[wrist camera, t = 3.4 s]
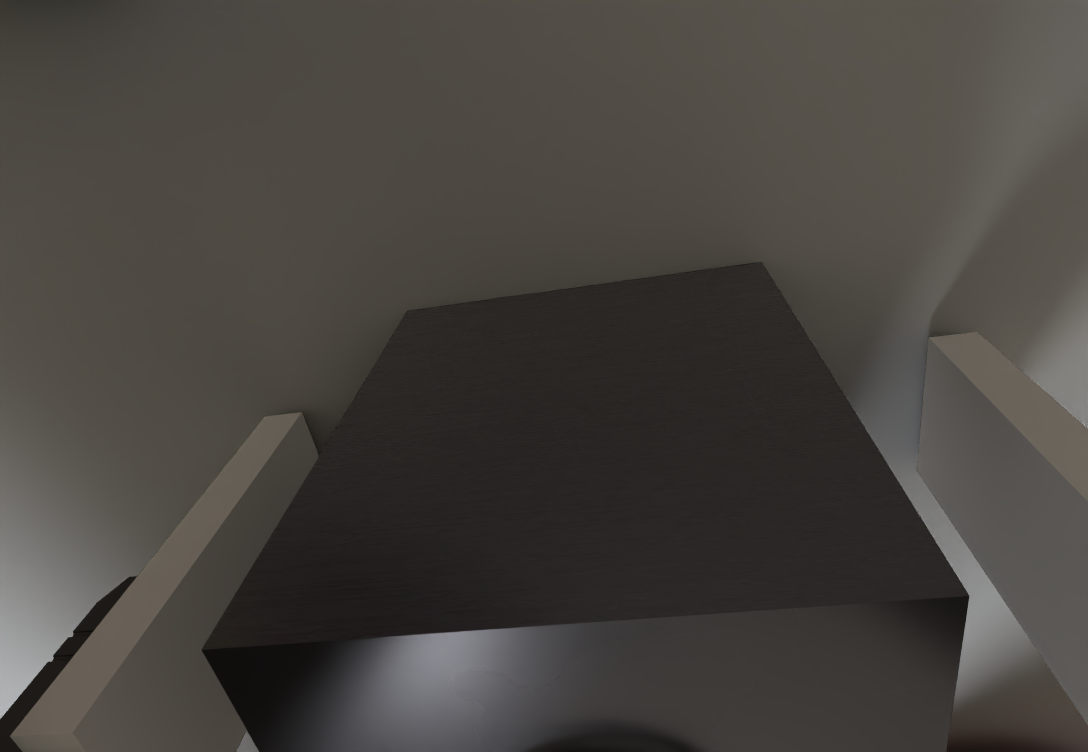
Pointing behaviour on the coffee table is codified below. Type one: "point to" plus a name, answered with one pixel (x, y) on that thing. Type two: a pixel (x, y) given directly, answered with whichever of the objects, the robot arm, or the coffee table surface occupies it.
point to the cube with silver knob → (598, 545)
